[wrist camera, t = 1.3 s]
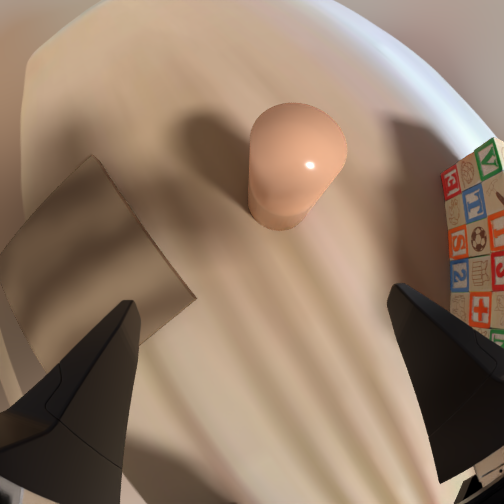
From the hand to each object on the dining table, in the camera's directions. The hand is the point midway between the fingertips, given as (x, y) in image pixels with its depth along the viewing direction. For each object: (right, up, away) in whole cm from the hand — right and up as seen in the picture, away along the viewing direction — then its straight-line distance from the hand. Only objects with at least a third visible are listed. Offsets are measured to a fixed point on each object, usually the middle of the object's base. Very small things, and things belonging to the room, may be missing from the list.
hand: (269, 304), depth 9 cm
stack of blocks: (+22, -1, +14) cm, 26 cm away
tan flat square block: (-16, -1, +13) cm, 21 cm away
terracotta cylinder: (+2, +6, +14) cm, 15 cm away
